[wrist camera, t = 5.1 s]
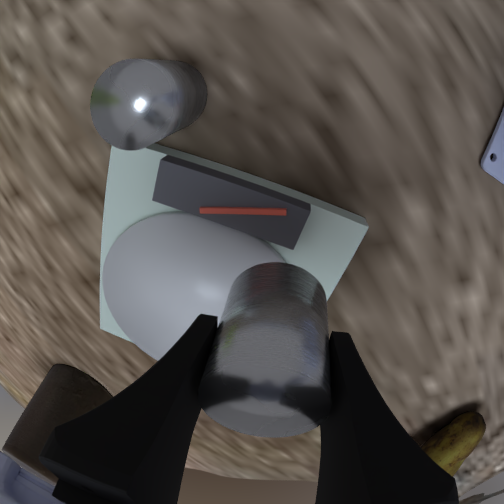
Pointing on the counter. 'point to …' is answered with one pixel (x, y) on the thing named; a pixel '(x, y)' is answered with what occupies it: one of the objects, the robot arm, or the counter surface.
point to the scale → (203, 240)
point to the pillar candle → (51, 415)
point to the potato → (455, 441)
